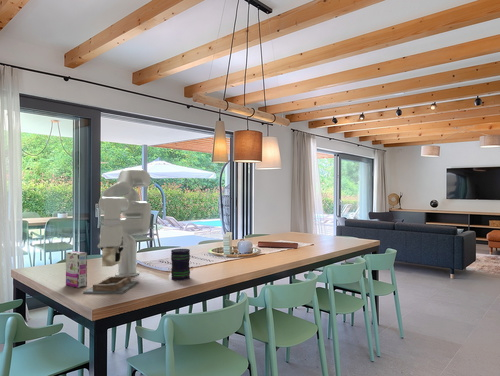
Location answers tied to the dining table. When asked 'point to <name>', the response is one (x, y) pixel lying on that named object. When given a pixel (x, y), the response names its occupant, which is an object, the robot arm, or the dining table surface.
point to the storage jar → (180, 264)
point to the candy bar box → (76, 269)
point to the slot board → (112, 286)
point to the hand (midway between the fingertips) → (112, 260)
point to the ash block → (110, 256)
